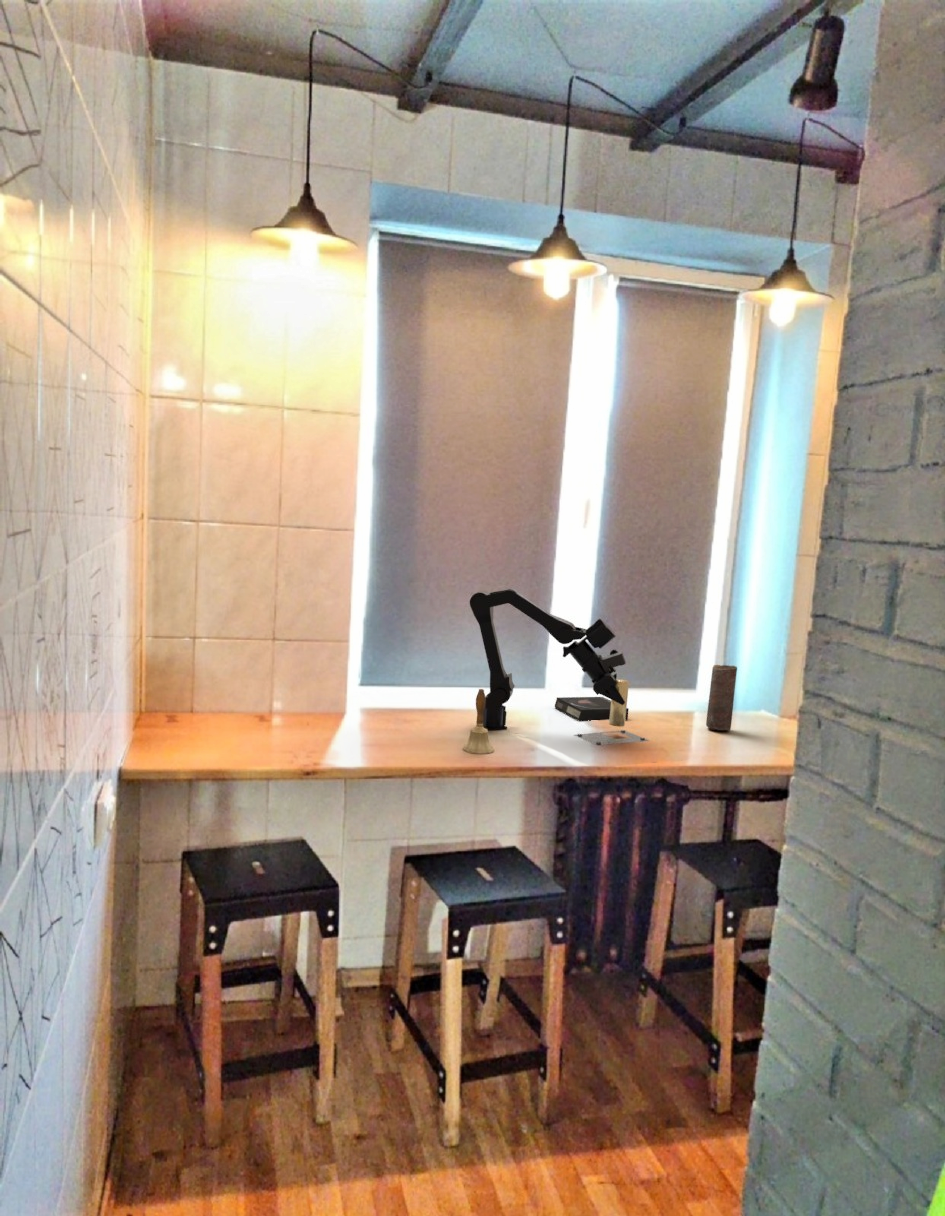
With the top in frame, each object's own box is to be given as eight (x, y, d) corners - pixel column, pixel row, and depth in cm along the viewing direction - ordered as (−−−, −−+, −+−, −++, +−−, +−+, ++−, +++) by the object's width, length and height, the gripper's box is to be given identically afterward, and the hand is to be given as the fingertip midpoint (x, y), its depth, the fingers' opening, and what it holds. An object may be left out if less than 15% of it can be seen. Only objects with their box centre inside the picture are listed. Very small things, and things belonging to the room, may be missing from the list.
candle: (729, 735, 276) (736, 668, 273) (704, 731, 278) (711, 665, 276) (731, 729, 283) (737, 665, 281) (706, 726, 285) (713, 662, 283)
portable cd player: (554, 709, 295) (555, 697, 295) (601, 708, 301) (602, 696, 301) (578, 722, 280) (579, 709, 280) (627, 721, 286) (628, 708, 286)
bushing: (618, 727, 256) (622, 683, 255) (605, 723, 259) (609, 679, 258) (627, 725, 259) (632, 681, 258) (615, 721, 262) (619, 678, 261)
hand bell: (467, 754, 236) (471, 693, 234) (458, 745, 244) (462, 686, 242) (498, 754, 238) (502, 693, 236) (488, 745, 246) (492, 686, 244)
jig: (597, 750, 248) (598, 743, 247) (572, 740, 257) (573, 733, 257) (648, 745, 257) (649, 738, 257) (623, 735, 266) (623, 729, 266)
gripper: (609, 646, 248) (647, 690, 247) (611, 636, 266) (646, 678, 266) (577, 671, 250) (614, 716, 250) (581, 660, 268) (615, 702, 268)
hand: (623, 702), depth 258 cm, fingers closed on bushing, 4 cm apart
